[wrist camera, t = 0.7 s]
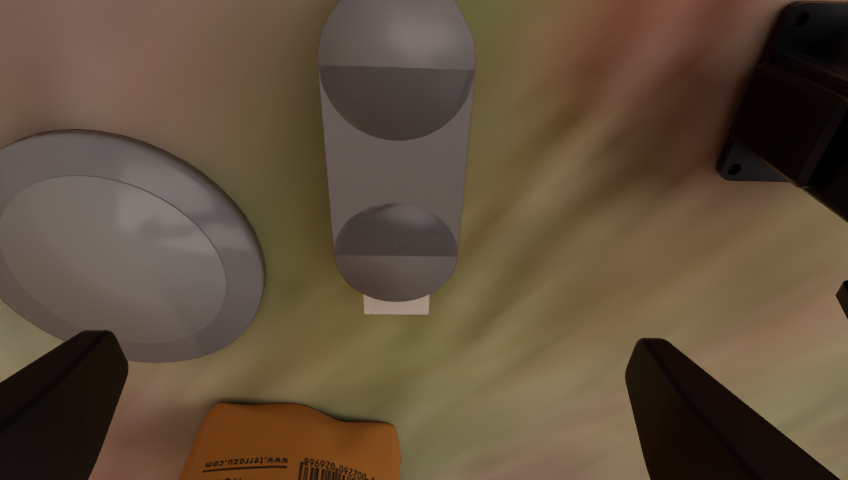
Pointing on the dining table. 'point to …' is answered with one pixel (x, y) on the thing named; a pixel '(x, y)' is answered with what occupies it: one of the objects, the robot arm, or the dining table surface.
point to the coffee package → (290, 446)
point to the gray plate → (124, 246)
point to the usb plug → (396, 144)
